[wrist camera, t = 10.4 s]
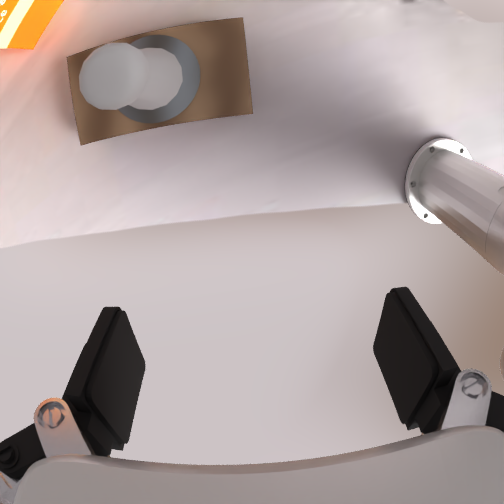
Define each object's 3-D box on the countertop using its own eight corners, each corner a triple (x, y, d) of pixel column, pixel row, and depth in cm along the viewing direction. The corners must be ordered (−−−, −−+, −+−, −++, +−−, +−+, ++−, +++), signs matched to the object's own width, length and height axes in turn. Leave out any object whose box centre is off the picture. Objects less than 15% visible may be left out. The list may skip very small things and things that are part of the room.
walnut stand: (240, 26, 28) (243, 16, 23) (249, 110, 33) (253, 114, 28) (85, 59, 27) (64, 57, 23) (97, 137, 32) (78, 146, 28)
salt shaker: (198, 69, 25) (176, 56, 14) (164, 118, 27) (121, 142, 16) (148, 40, 23) (96, 14, 12) (116, 90, 25) (48, 98, 14)
